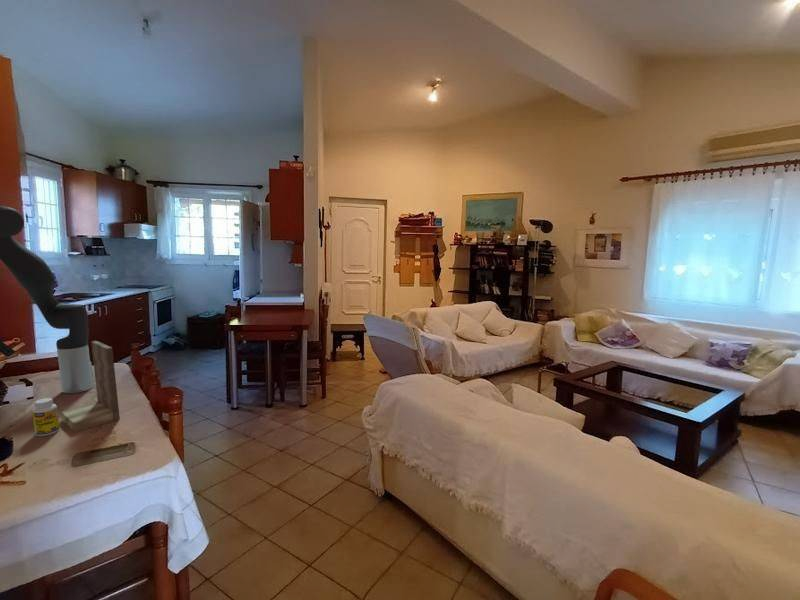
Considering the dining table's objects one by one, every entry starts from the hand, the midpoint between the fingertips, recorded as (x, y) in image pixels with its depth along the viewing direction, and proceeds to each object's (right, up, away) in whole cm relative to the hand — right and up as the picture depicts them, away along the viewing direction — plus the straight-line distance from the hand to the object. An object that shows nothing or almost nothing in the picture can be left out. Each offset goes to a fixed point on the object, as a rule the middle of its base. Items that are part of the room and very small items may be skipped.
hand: (5, 353), depth 113 cm
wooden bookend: (+12, -24, +15) cm, 31 cm away
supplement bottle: (+6, -25, +7) cm, 27 cm away
